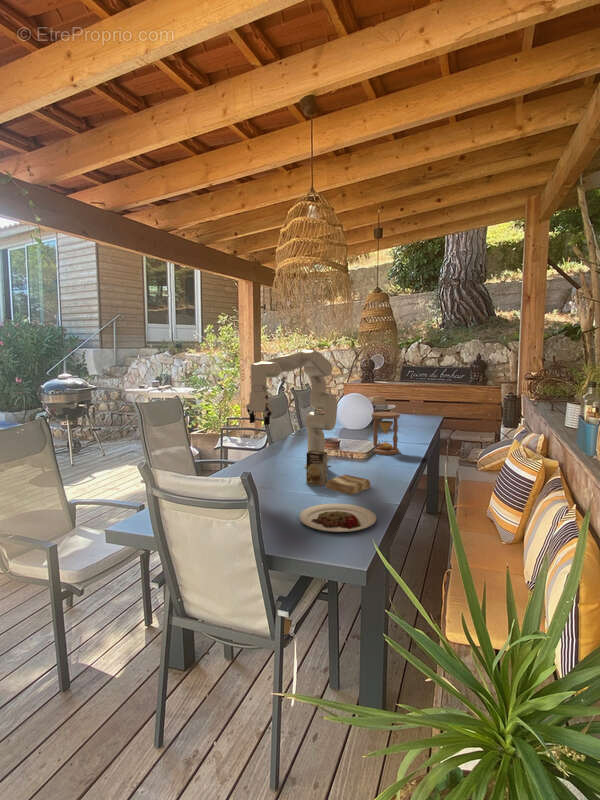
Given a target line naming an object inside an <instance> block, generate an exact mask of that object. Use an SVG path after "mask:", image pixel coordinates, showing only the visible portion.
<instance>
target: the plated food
mask: <svg viewBox="0 0 600 800" xmlns="http://www.w3.org/2000/svg"><path fill="white" fill-rule="evenodd" d="M299 521H300V522H301V523H302V524H303V525H305V526H307V527H309V528H312V529H314V530H315V529H316V530H317V531H318V530H319V531H324V532H332V533H335V532H336V533H344V532H345V533H346V532H356V531H361V530H365V529H366V528H369V527H371V526H373V525H374V524H375V523H376V521H377V516H376V514H375V513H374V512H373V511H372V510H369V509H368V508H365V507H363V506H360V505H355V504H349V503H324V504H318V505H317V504H316V505H313V506H310V507H307V508H304V509H303V510H302V511H301V512H300V514H299Z"/></svg>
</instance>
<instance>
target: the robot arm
mask: <svg viewBox="0 0 600 800" xmlns="http://www.w3.org/2000/svg"><path fill="white" fill-rule="evenodd" d="M299 368H303V370H304V372H305V374H306V375H307V377H308V378H309V380H310V384H311V385H310V388H311V389H310V396H309V397H310V398H309V403H310V404H309V405H310V407H311V408H312V409H314V410H318V411H310V412H308V414H306V417H305V426H306V433H307V452H309V451H311V450H313V451H322V452H325V433H324V431H332V430H334V428H335V427H336V424H337V414H338V398H337V396H336V395H335V394H334V393H329V392H327V385H328V383H327V381H326V379H325V377H330V376H331V374H332V373H333V371H334V369H333V368H334V367H333V365H332V363H331V362H330V361H329V360H328V359H327V358H326V357H325V356H324V355H323V354H322V353H320V351H318V350H314V349H302V350H299V351H295V352H292V353H289V354H285V355H280V356H277V357H273V358H268V359H264V360H261V361H259V362H254V363H253V362H252V363H251V364H250V393H249V403H247V404H246V405H245V409H246V412H247V413H248V415H249V423H250V424H255V423H256V414H255V413H262V414H263V415H264V418H263V419H264V421H263V422H264V425H265V426H267V425H271V420H270V419H271V418H270V417H271V416H272V414H273V411H274V407H273V406H272V405H271V399H270V395H269V394H270V393H269V391H268V389H269V387H268V384H267V382H268V379H267V378H273V379H274V378H277V377H279V376H280V375H281V374H282V373H285V372H293V371H294V370H298V369H299ZM319 410H320V411H319ZM321 411H323V412H321ZM329 462H330V459H329V458H328V457H327V463H329ZM304 468H305V469H306V470H307V463H306V464H305V465H304Z"/></svg>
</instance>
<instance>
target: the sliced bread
mask: <svg viewBox="0 0 600 800" xmlns="http://www.w3.org/2000/svg"><path fill="white" fill-rule="evenodd" d="M325 488H326V489H327V490H331V491H335V492H339V493H343V494H346V495H351V496H353V495H355V494H357V493H361V492H363V491H365V490H368V489H370V488H371V481H370V480H369V479H367V478H364V477H363V478H362V477H359V476H354V475H349V474H343V475H339V476H337V477H333V478H331V479H327V482H326V484H325Z"/></svg>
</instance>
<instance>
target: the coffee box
mask: <svg viewBox="0 0 600 800" xmlns="http://www.w3.org/2000/svg"><path fill="white" fill-rule="evenodd" d="M327 458H328V452H327V451H324V452H322V451H313V450H311V451H309V452H308V451H307V452H306V464H307V469H306V476H305V478H306V480H305V481H306V482H305V484H306V485H309V486H316V487H324V486H326V482H328V462H327Z"/></svg>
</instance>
